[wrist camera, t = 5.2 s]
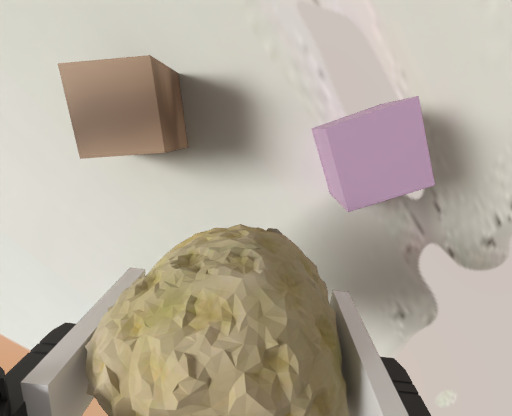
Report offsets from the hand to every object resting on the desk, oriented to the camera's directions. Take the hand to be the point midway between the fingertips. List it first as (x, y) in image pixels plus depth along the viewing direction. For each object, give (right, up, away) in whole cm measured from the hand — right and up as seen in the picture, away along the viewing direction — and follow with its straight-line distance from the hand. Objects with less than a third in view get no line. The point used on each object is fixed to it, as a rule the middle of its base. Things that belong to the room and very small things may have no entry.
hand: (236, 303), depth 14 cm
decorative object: (0, 0, +1) cm, 1 cm away
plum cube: (+8, +9, +6) cm, 14 cm away
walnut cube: (-7, +12, +6) cm, 15 cm away
